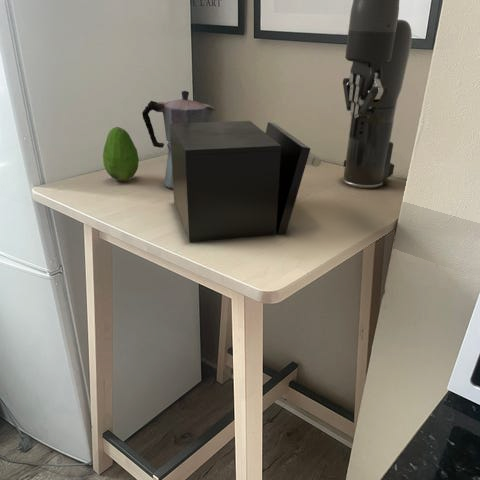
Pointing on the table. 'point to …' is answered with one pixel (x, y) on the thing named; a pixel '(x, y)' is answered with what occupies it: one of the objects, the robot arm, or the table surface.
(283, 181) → the oven door
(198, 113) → the moka pot
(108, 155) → the avocado
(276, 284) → the table surface
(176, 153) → the oven
